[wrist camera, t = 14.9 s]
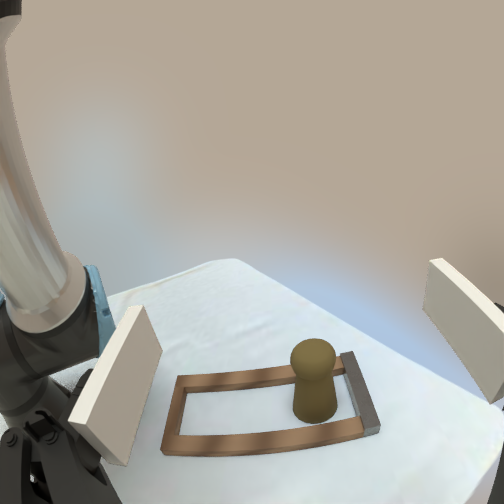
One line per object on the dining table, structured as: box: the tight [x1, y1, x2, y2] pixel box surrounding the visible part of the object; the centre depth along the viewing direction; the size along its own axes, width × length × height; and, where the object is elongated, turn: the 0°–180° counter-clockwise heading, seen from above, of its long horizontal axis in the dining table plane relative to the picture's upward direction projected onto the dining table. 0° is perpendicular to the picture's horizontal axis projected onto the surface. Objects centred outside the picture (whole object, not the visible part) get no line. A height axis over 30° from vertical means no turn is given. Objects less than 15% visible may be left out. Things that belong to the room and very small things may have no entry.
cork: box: [290, 338, 337, 424], centre depth 32 cm, size 6×6×11 cm
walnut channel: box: [160, 356, 364, 456], centre depth 35 cm, size 25×14×2 cm, turn 91°
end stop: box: [340, 351, 381, 437], centre depth 34 cm, size 2×14×2 cm, turn 1°
